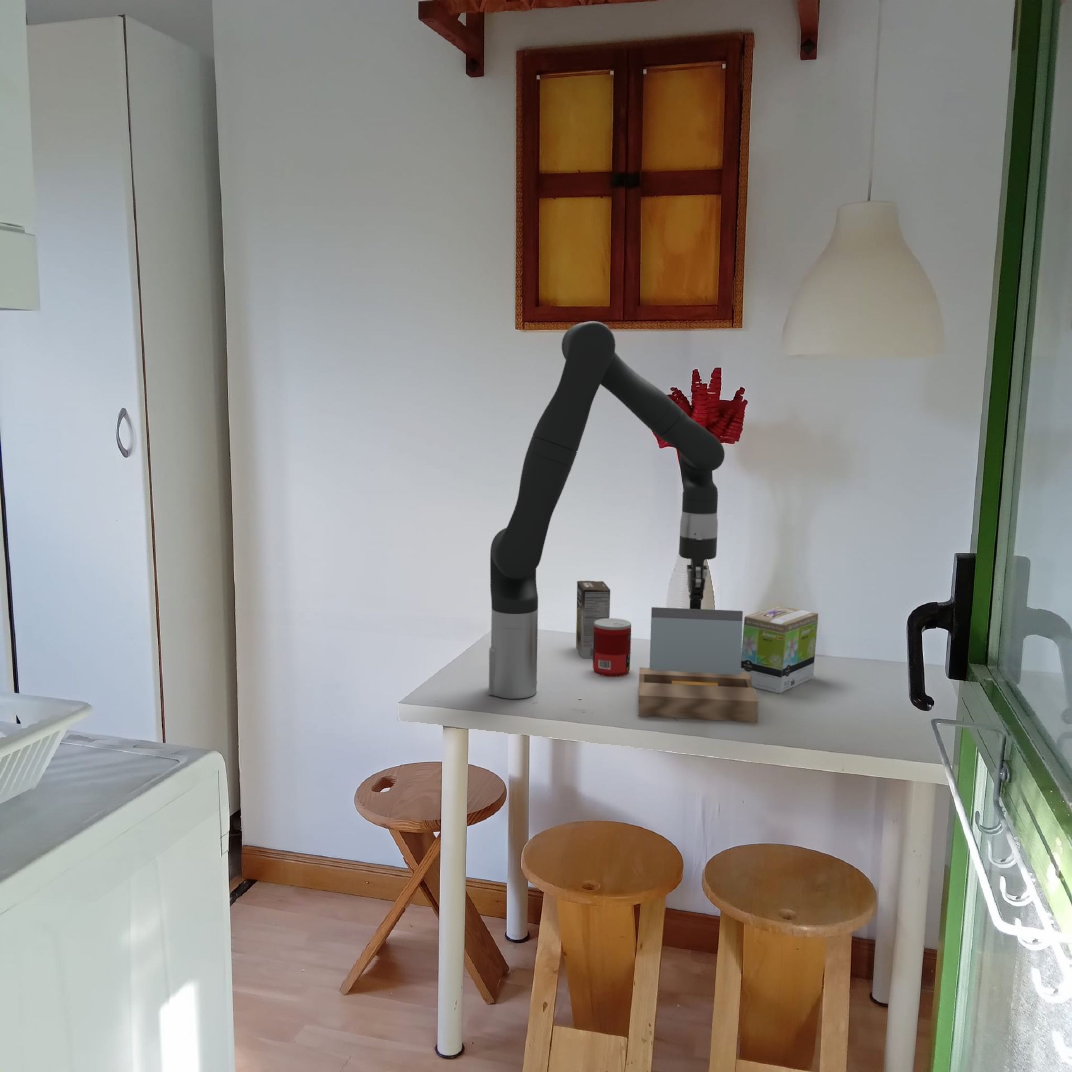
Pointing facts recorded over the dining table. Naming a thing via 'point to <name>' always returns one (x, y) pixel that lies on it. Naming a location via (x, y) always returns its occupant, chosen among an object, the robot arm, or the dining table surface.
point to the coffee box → (590, 613)
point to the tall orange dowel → (695, 683)
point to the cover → (696, 640)
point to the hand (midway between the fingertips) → (694, 617)
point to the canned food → (611, 647)
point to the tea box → (779, 647)
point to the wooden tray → (697, 696)
